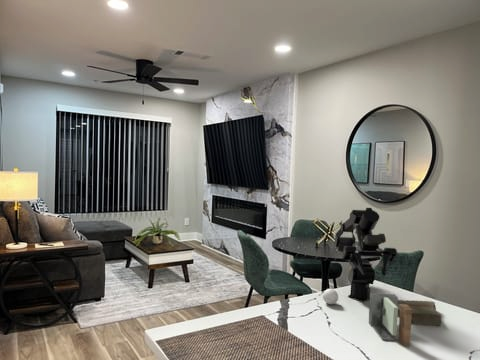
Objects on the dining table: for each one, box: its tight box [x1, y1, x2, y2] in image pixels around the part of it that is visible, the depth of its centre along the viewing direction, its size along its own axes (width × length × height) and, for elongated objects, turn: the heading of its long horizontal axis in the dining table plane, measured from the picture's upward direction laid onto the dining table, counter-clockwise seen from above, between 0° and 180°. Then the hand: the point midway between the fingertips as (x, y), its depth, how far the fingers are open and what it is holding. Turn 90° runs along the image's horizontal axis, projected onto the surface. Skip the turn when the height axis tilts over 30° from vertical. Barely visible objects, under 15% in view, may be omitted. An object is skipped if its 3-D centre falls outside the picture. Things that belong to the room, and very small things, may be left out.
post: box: [397, 304, 413, 348], centre depth 105 cm, size 4×2×11 cm, turn 178°
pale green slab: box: [382, 298, 399, 336], centre depth 110 cm, size 8×2×8 cm, turn 179°
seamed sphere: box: [322, 288, 340, 305], centre depth 132 cm, size 8×6×6 cm
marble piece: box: [397, 299, 443, 327], centre depth 125 cm, size 17×15×4 cm
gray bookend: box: [368, 292, 399, 342], centre depth 112 cm, size 12×8×10 cm
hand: (374, 274), depth 126 cm, fingers open, 7 cm apart
